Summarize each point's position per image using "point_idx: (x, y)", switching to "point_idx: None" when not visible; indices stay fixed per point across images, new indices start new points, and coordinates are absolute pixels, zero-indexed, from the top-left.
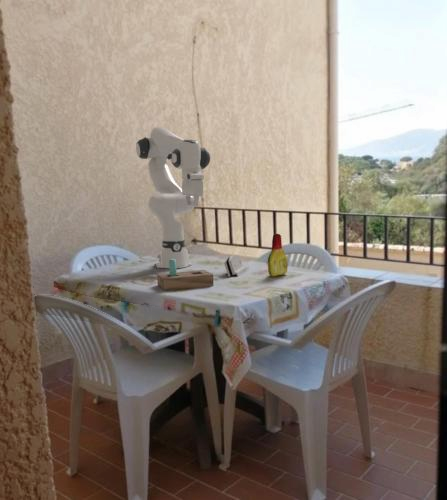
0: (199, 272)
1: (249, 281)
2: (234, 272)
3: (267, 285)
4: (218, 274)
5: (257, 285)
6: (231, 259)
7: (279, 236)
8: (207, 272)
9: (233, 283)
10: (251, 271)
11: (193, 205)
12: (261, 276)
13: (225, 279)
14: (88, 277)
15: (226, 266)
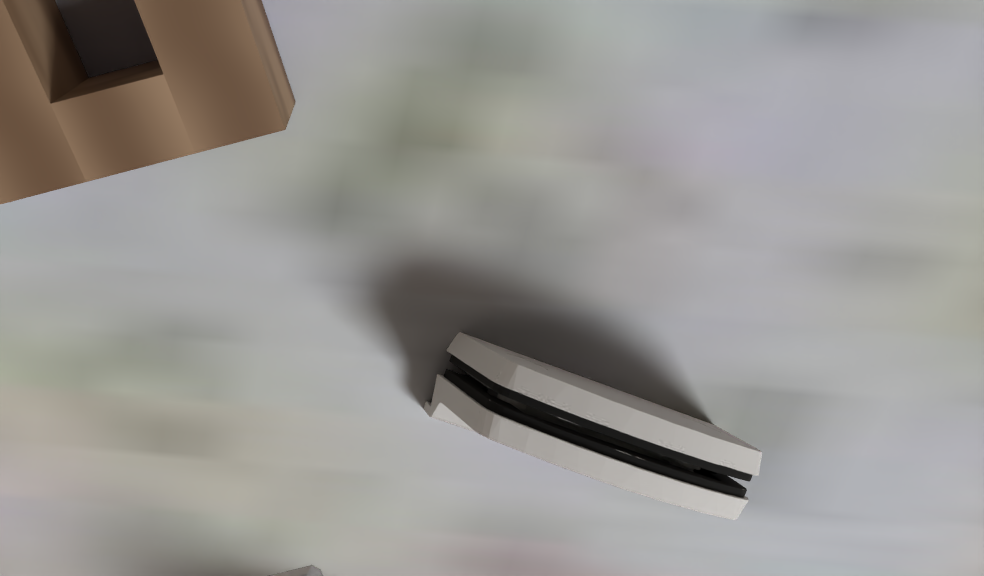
0: (163, 66)
1: (197, 468)
2: (437, 399)
3: (24, 569)
4: (564, 257)
5: (27, 507)
6: (512, 447)
7: None
8: (113, 154)
9: (125, 345)
10: (609, 518)
11: (303, 572)
12: (384, 563)
13: (315, 297)
14: None
15: (484, 364)
